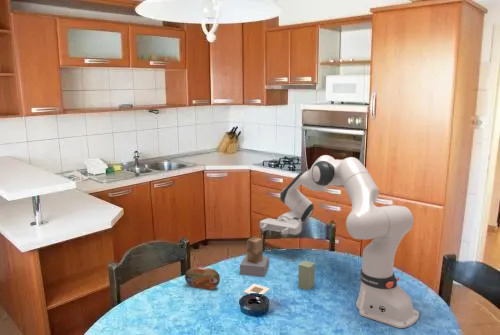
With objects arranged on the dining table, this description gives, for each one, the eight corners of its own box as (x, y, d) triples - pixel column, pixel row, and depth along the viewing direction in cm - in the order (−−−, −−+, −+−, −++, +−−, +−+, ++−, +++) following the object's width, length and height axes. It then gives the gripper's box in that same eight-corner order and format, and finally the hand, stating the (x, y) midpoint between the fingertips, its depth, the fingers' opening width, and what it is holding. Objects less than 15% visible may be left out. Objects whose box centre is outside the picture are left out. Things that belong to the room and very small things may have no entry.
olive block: (314, 285, 175) (314, 263, 173) (309, 290, 171) (309, 267, 169) (303, 282, 177) (303, 260, 175) (298, 287, 173) (298, 264, 171)
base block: (269, 266, 193) (269, 256, 192) (264, 277, 183) (264, 267, 182) (246, 264, 196) (246, 254, 195) (240, 275, 185) (240, 264, 184)
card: (270, 289, 172) (270, 288, 172) (260, 297, 165) (260, 296, 165) (253, 284, 176) (253, 283, 176) (243, 292, 170) (243, 291, 169)
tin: (185, 286, 175) (184, 267, 174) (188, 283, 178) (187, 264, 177) (218, 291, 171) (217, 272, 169) (221, 287, 174) (220, 268, 172)
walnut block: (262, 259, 189) (262, 238, 187) (256, 263, 185) (256, 242, 183) (253, 257, 192) (253, 236, 190) (247, 261, 188) (247, 240, 186)
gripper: (267, 213, 212) (253, 221, 201) (304, 219, 201) (291, 228, 190) (267, 225, 213) (253, 233, 202) (304, 232, 203) (291, 241, 191)
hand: (272, 231), depth 196 cm, fingers open, 8 cm apart
